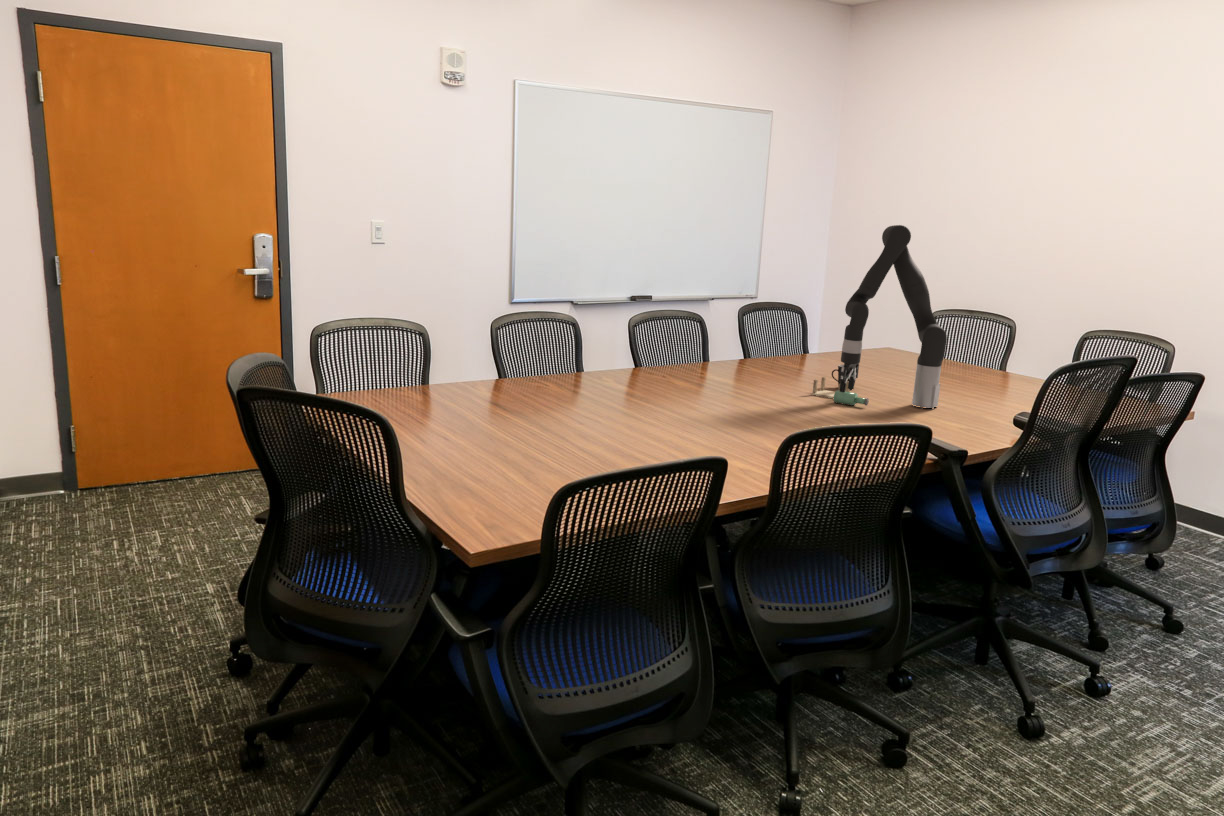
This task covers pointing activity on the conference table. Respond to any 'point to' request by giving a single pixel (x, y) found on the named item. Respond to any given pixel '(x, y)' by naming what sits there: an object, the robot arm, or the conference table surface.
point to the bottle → (849, 398)
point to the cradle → (824, 392)
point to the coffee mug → (838, 374)
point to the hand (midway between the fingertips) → (846, 390)
